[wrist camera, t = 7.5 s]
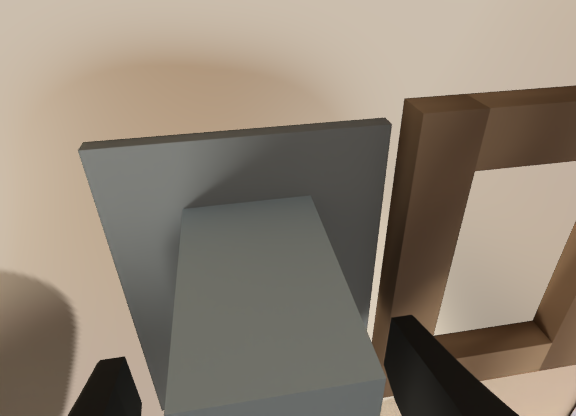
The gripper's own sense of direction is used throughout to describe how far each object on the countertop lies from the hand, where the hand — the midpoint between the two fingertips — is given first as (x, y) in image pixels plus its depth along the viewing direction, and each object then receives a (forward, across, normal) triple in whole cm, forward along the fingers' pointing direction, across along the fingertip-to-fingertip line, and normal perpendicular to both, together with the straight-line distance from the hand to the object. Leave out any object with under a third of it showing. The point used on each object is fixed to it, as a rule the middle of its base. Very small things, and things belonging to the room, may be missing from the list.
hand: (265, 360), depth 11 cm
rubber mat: (+3, 0, 0) cm, 3 cm away
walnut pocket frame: (+3, -9, 0) cm, 10 cm away
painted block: (+3, 0, 0) cm, 3 cm away
